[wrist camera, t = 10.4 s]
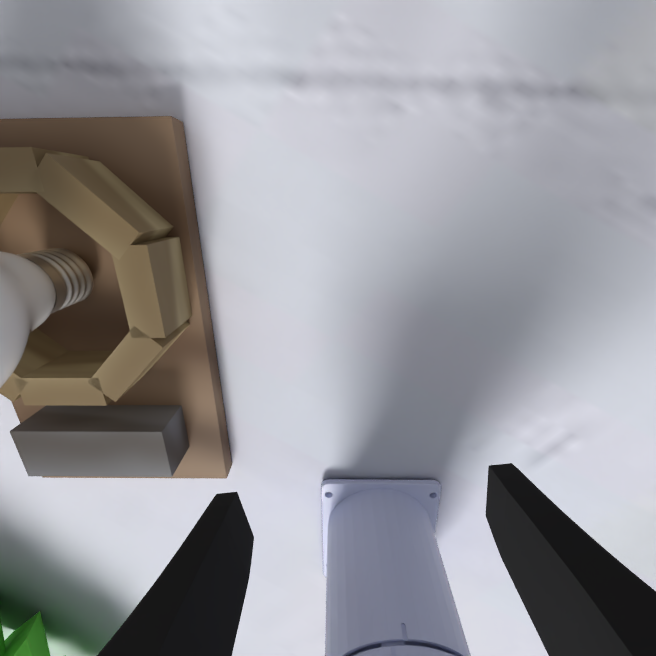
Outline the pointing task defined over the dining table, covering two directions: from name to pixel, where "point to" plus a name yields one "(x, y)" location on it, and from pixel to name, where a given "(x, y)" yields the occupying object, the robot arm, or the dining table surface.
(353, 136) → the dining table surface
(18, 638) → the decorative tree
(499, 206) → the dining table surface
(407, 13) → the dining table surface
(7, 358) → the lightbulb
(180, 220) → the jig
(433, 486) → the robot arm
